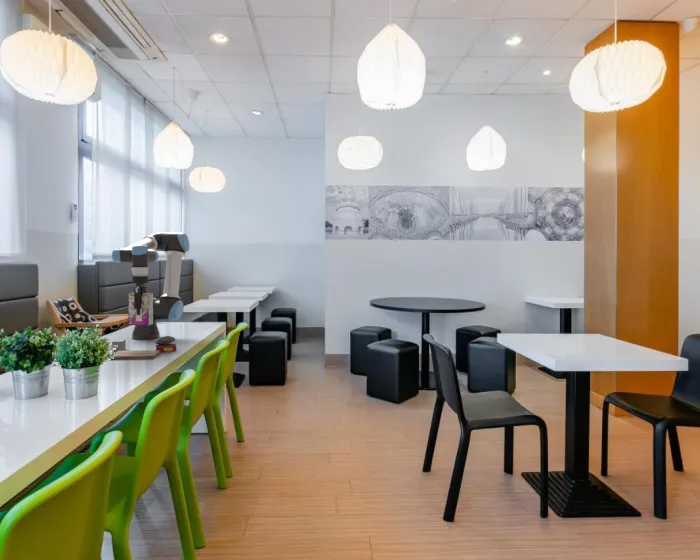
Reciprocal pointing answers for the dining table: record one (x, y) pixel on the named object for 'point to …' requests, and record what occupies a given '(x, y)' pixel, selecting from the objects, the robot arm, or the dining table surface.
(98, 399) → the dining table surface
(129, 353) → the walnut board
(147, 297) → the candy bar box
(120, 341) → the gray cube
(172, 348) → the canned food
